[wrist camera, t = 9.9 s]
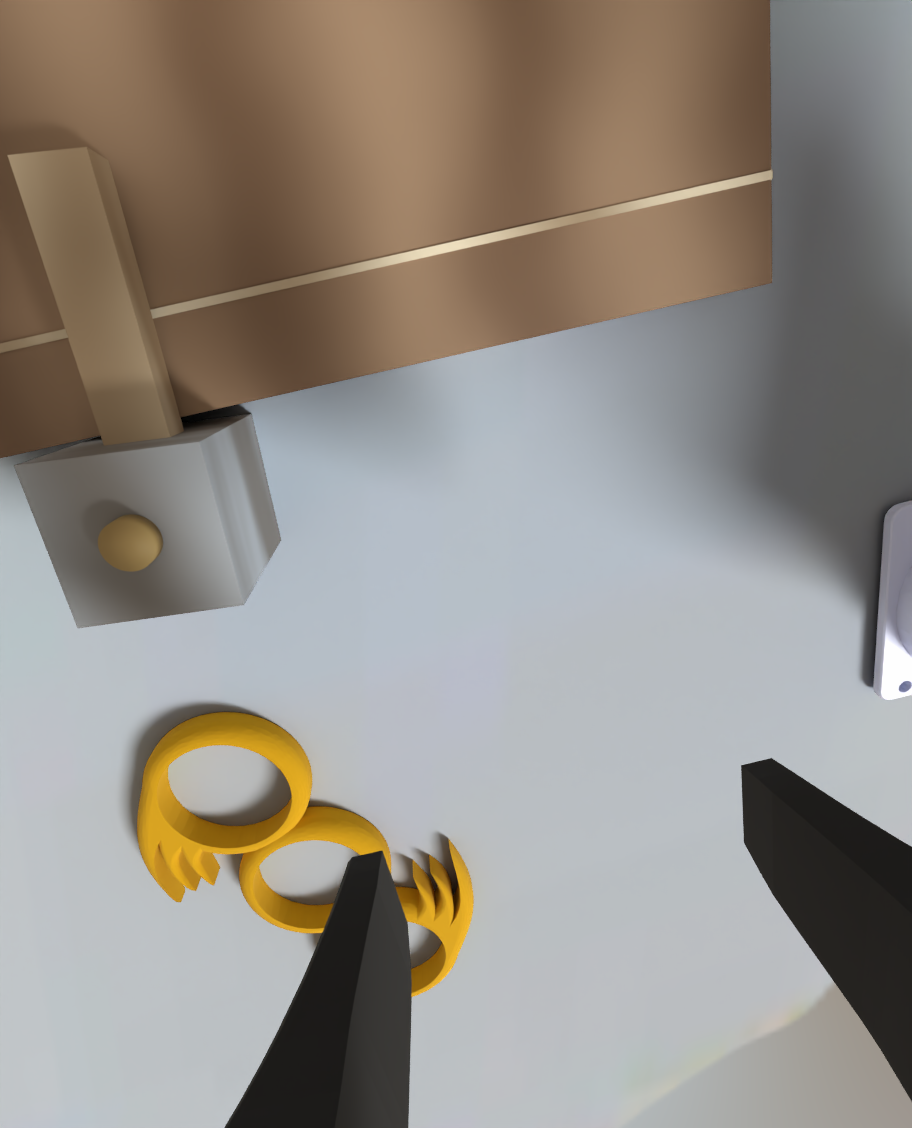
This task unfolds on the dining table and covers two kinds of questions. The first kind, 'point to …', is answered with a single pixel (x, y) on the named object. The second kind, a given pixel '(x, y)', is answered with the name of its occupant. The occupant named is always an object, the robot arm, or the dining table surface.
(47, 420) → the board
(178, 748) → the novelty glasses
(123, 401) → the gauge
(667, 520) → the dining table surface
